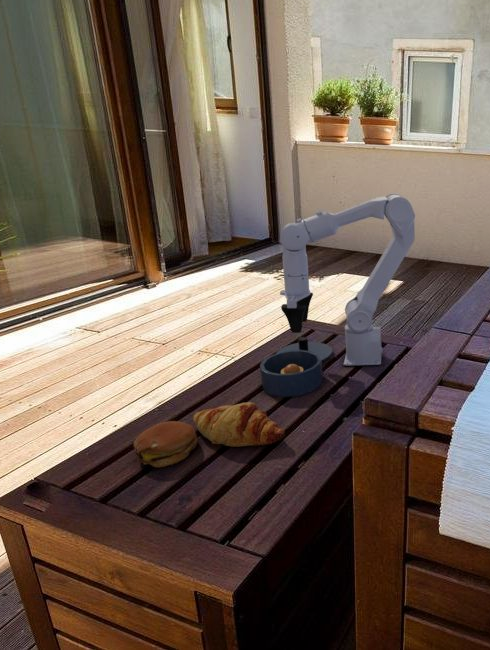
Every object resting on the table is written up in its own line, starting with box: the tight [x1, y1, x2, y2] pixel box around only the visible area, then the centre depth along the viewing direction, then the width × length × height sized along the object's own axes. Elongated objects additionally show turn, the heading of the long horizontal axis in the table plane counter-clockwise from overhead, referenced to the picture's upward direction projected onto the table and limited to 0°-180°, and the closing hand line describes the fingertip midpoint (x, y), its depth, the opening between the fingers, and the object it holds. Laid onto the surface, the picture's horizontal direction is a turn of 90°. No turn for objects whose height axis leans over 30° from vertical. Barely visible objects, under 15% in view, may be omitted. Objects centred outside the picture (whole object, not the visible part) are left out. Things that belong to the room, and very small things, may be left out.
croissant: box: [192, 401, 286, 448], centre depth 90 cm, size 21×10×8 cm, turn 72°
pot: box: [259, 350, 324, 398], centre depth 111 cm, size 14×14×5 cm
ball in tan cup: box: [281, 364, 304, 374], centre depth 111 cm, size 5×5×4 cm
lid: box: [275, 336, 333, 362], centre depth 125 cm, size 15×15×5 cm
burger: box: [132, 420, 199, 468], centre depth 85 cm, size 10×9×5 cm
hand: (299, 326), depth 117 cm, fingers open, 7 cm apart
